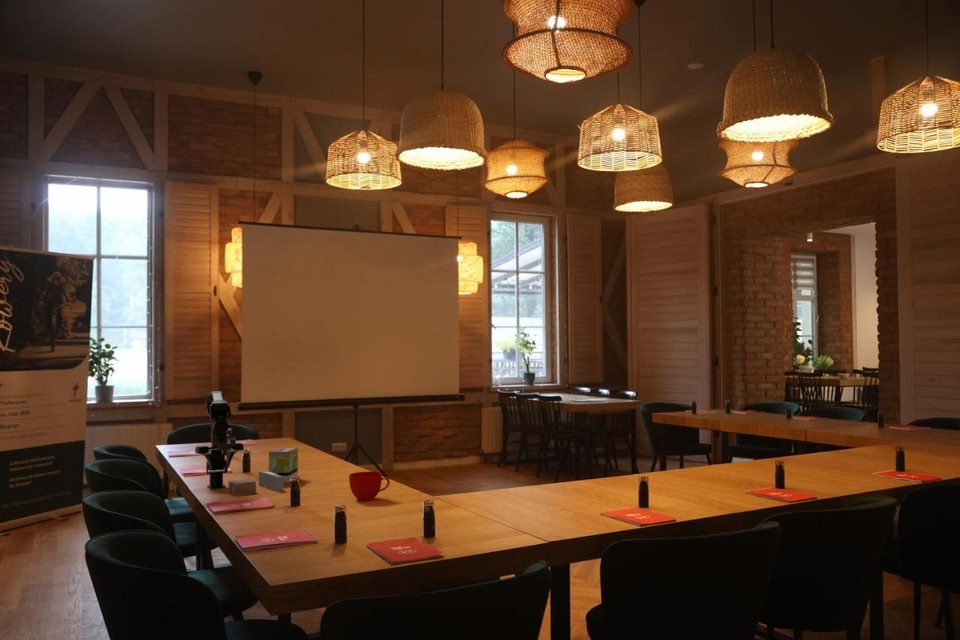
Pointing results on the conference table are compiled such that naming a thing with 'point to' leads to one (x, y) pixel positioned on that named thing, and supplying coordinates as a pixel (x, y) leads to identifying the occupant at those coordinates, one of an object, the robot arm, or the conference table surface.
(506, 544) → the conference table surface
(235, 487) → the walnut block
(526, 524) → the conference table surface
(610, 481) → the conference table surface
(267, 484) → the gray and cream block
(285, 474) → the tea box
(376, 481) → the ceramic cup
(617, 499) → the conference table surface
